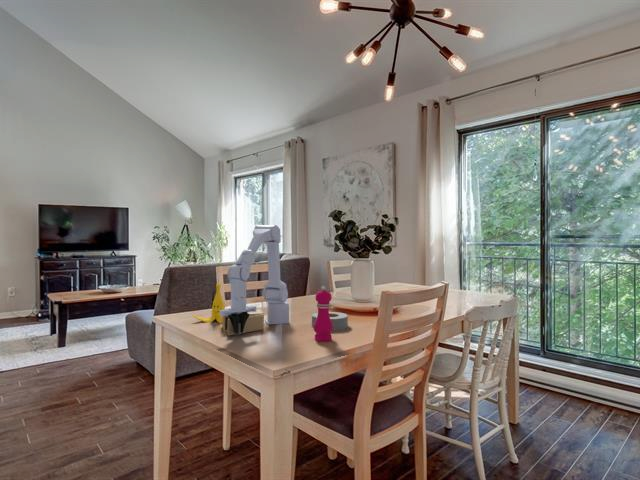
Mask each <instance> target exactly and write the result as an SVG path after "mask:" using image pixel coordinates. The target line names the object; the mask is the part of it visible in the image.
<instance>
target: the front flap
mask: <svg viewBox="0 0 640 480" xmlns="http://www.w3.org/2000/svg"><path fill="white" fill-rule="evenodd" d="M264 326H265V313H264V314H262V315H255V316H249V317H248V319H247V321H246V323H245V326H244V330H243V334H244V333H249V332H255V331H261V330H264V329H265V327H264ZM241 334H242V333H241V323H239V325H238V334H236V333H234V330H233V326H232V323H231V321H230V319H228V332H227V336H232V335H241Z"/></svg>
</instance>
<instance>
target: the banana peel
mask: <svg viewBox="0 0 640 480" xmlns="http://www.w3.org/2000/svg"><path fill="white" fill-rule="evenodd" d="M215 287H216V293H215V295H214V299H213V302H212V306H211V316H210V317H209V318H206V317H204V318H203V317H200V316H197V315H195V314H192V316H193V317H194V318H195V319H197V320H198V321H201V322H202V323H212V322H214V321H215V320H216V322H217V323H219V324H222V316H220V310H225V306H224V305H225V304H224V301H223V298H222V294H221V283H216V284H215Z"/></svg>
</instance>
